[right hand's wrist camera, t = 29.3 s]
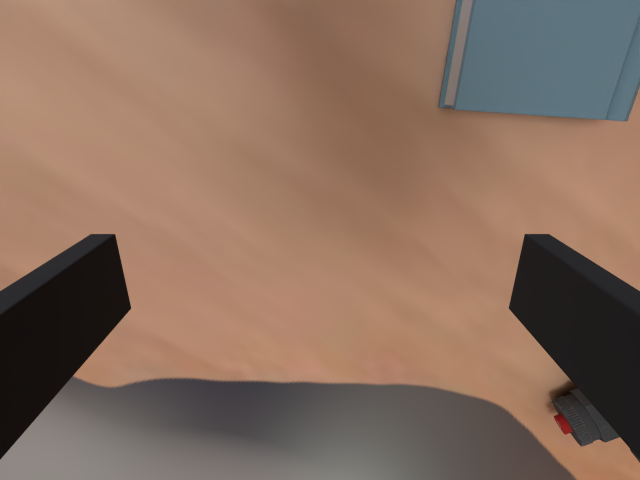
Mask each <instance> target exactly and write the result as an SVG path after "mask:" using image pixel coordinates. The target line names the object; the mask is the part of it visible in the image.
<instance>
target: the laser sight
mask: <svg viewBox="0 0 640 480" xmlns="http://www.w3.org/2000/svg"><path fill="white" fill-rule="evenodd" d="M568 392H569V395H566V396H564V397H563V396H561V397H559V398H556V399H554V400H552V402H553V404H554V406H555V409H556V411H557V412H558V414H559V415H556V416H554V418H555V420H556V422H557V424H558V425H559V427H560V429H561V430H562V431H563V433H564V434H568V433H571V434H572V436H573V437H574V439H575V440H576V441H577V442H578V443H579V445H581V446H585V445H588V444H590V443H593V441H595V440H598V439H600V440H601V441H603V442H608V441H610V440H613V439H616V438H619V437H620V436H619V435H618V434H617V433H616V431H615V430H614V429H613V428H612V427H611V426H610V425H609V423H608V422H607V421H606V420H605V419H604V418H603V416H602V415H601V414H600V413H599V412H598V411H597V410H596V408H595V407H594V406H593V405H592V404H591V403H590V401H589V400H588V399H587V398H586V397H585V396H584V395H583V393H582V392H581V391H580V390H579V389H578V388H577V387H576V388H574V389H571V390H569V391H568ZM630 450H631V449H630ZM631 452H632V453H633V454H634V456H635V457H636V458H637V459H638V461H639V462H640V459H639V458H638V457H637V456H636V455H635V453H634V452H633V451H632V450H631Z"/></svg>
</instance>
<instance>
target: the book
mask: <svg viewBox="0 0 640 480" xmlns="http://www.w3.org/2000/svg"><path fill="white" fill-rule="evenodd" d="M639 86H640V0H457V2H456V8H455V13H454V19H453V25H452V31H451V37H450V43H449V49H448V54H447V60H446V66H445V72H444V78H443V84H442V90H441V96H440V101H439V107H440V108H453V109H454V110H466V111H481V112H496V113H511V114H526V115H540V116H555V117H570V118H585V119H599V120H614V121H628V118H629V115H630V112H631V109H632V106H633V103H634V101H635V98H636V95H637V92H638V89H639Z"/></svg>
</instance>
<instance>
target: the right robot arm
mask: <svg viewBox="0 0 640 480" xmlns="http://www.w3.org/2000/svg"><path fill="white" fill-rule="evenodd" d="M130 309H131V305H130V301H129V296H128V292H127V287H126V282H125V278H124V273H123V269H122V264H121V259H120V255H119V250H118V246H117V241H116V236H115V234H91V235H89V236H88V237H86V238H84V239H83V240H81V241H80V242H78V243H76V244H75V245H73V246H72V247H70V248H68V249H67V250H65V251H64V252H62V253H60V254H59V255H57V256H56V257H54V258H53V259H51V260H49V261H48V262H46V263H45V264H43V265H41V266H40V267H38V268H37V269H35V270H33V271H32V272H30V273H29V274H27V275H25V276H24V277H22V278H21V279H19V280H18V281H16V282H14V283H13V284H11V285H10V286H8V287H6V288H5V289H3V290H2V291H0V459H1V458H2V457H3V456H4V455H5V453H6V452H7V451H8V450H9V449H10V448H11V446H12V445H13V444H14V443H15V442H16V441H17V439H18V438H19V437H20V436H21V435H22V434H23V433H24V431H25V430H26V429H27V428H28V427H29V426H30V424H31V423H32V422H33V421H34V420H35V419H36V418H37V416H38V415H39V414H40V413H41V412H42V411H43V409H44V408H45V407H46V406H47V405H48V404H49V403H50V401H51V400H52V399H53V398H54V397H55V396H56V395H57V393H58V392H59V391H60V390H61V389H62V388H63V386H64V385H65V384H66V383H67V382H68V381H69V380H70V378H71V377H72V376H73V375H74V374H75V373H76V371H77V370H78V369H79V368H80V367H81V366H82V365H83V363H84V362H85V361H86V360H87V359H88V358H89V356H90V355H91V354H92V353H93V352H94V351H95V349H96V348H97V347H98V346H99V345H100V344H101V343H102V341H103V340H104V339H105V338H106V337H107V336H108V334H109V333H110V332H111V331H112V330H113V329H114V328H115V326H116V325H117V324H118V323H119V322H120V321H121V319H122V318H123V317H124V316H125V315H126V314H127V313H128V311H129V310H130ZM509 309H510V310H511V311H512V313H513V314H514V315H515V316H516V317H517V318H518V319H519V321H520V322H521V323H522V324H523V325H524V326H525V328H526V329H527V330H528V331H529V332H530V333H531V334H532V336H533V337H534V338H535V339H536V340H537V341H538V343H539V344H540V345H541V346H542V347H543V348H544V349H545V351H546V352H547V353H548V354H549V355H550V356H551V358H552V359H553V360H554V361H555V362H556V363H557V365H558V366H559V367H560V368H561V369H562V370H563V371H564V373H565V374H566V375H567V376H568V377H569V378H570V380H571V381H572V382H573V383H574V384H575V385H576V386H577V388H578V389H579V390H580V391H581V392H582V393H583V395H584V396H585V397H586V398H587V399H588V400H589V401H590V403H591V404H592V405H593V406H594V407H595V408H596V410H597V411H598V412H599V413H600V414H601V415H602V416H603V418H604V419H605V420H606V421H607V422H608V423H609V425H610V426H611V427H612V428H613V429H614V430H615V431H616V433H617V434H618V435H619V436H620V437H621V438H622V440H623V441H624V442H625V443H626V444H627V445H628V446H629V448H630V449H631V450H632V451H633V452H634V453H635V455H636V456H637V457H638V458H639V459H640V291H638V290H637V289H635V288H634V287H632V286H630V285H629V284H627V283H626V282H624V281H622V280H621V279H619V278H618V277H616V276H615V275H613V274H611V273H610V272H608V271H607V270H605V269H603V268H602V267H600V266H599V265H597V264H595V263H594V262H592V261H591V260H589V259H587V258H586V257H584V256H583V255H581V254H580V253H578V252H576V251H575V250H573V249H572V248H570V247H568V246H567V245H565V244H564V243H562V242H560V241H559V240H557V239H556V238H554V237H552V236H551V235H549V234H525V236H524V241H523V246H522V250H521V255H520V259H519V264H518V269H517V273H516V278H515V282H514V287H513V292H512V296H511V301H510V305H509Z"/></svg>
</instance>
